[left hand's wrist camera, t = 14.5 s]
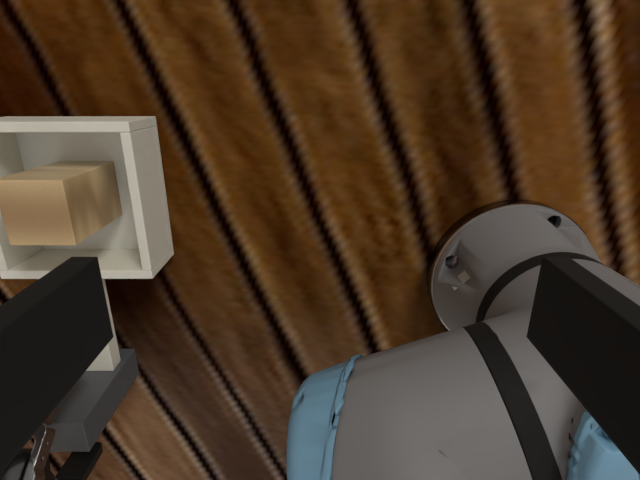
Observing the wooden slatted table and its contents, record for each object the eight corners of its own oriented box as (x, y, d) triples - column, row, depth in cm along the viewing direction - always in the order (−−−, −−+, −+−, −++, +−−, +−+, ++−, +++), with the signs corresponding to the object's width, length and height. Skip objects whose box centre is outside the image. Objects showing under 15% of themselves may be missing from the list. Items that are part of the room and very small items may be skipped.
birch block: (123, 214, 39) (76, 245, 31) (69, 214, 39) (9, 245, 31) (113, 161, 37) (61, 180, 30) (57, 160, 37) (-9, 180, 30)
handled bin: (188, 360, 45) (144, 452, 34) (68, 360, 45) (-15, 452, 34) (155, 116, 36) (82, 130, 25) (6, 116, 36) (-133, 130, 25)
